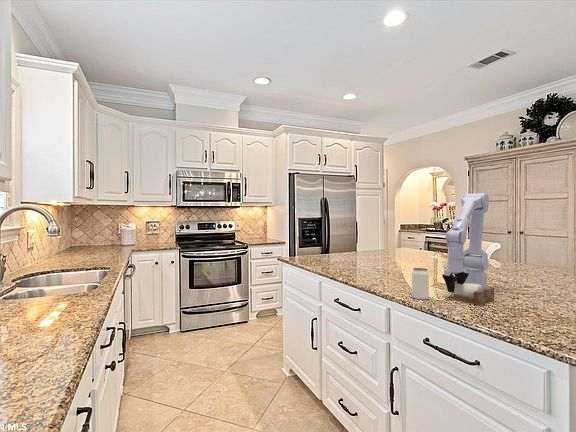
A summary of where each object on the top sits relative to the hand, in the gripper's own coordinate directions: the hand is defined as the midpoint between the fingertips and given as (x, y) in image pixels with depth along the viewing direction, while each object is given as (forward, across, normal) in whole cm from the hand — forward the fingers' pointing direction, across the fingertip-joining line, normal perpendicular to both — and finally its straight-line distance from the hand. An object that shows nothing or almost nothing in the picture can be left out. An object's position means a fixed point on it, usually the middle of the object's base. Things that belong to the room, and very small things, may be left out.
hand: (455, 290), depth 139 cm
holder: (+2, 0, -6) cm, 7 cm away
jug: (+2, 0, -5) cm, 5 cm away
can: (+3, -14, +8) cm, 16 cm away
